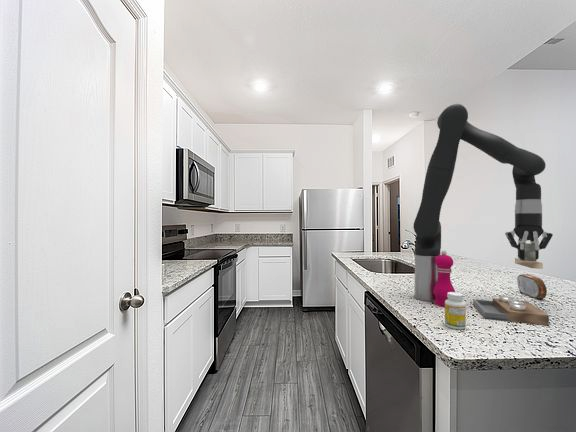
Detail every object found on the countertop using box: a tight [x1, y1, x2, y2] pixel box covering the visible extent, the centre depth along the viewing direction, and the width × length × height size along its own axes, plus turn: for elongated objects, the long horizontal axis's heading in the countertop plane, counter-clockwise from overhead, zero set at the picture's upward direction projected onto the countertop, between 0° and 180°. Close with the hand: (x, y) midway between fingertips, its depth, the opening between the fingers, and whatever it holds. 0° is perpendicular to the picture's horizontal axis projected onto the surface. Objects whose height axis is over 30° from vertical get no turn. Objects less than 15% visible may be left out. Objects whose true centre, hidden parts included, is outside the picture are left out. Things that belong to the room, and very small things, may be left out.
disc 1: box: [498, 295, 514, 303], centre depth 99 cm, size 4×4×2 cm
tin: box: [516, 273, 548, 300], centre depth 118 cm, size 15×3×8 cm, turn 168°
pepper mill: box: [433, 249, 456, 308], centre depth 106 cm, size 7×7×20 cm
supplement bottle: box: [444, 291, 467, 330], centre depth 84 cm, size 5×5×10 cm
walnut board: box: [491, 297, 550, 327], centre depth 94 cm, size 10×16×3 cm, turn 158°
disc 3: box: [509, 303, 526, 311], centre depth 90 cm, size 4×4×2 cm
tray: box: [472, 298, 509, 322], centre depth 97 cm, size 6×16×2 cm, turn 158°
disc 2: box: [508, 299, 524, 305], centre depth 94 cm, size 4×4×2 cm
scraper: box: [514, 242, 544, 270], centre depth 103 cm, size 3×14×8 cm, turn 160°
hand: (528, 260), depth 103 cm, fingers closed on scraper, 3 cm apart
